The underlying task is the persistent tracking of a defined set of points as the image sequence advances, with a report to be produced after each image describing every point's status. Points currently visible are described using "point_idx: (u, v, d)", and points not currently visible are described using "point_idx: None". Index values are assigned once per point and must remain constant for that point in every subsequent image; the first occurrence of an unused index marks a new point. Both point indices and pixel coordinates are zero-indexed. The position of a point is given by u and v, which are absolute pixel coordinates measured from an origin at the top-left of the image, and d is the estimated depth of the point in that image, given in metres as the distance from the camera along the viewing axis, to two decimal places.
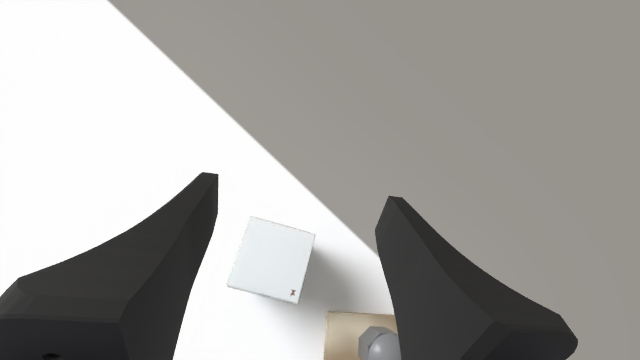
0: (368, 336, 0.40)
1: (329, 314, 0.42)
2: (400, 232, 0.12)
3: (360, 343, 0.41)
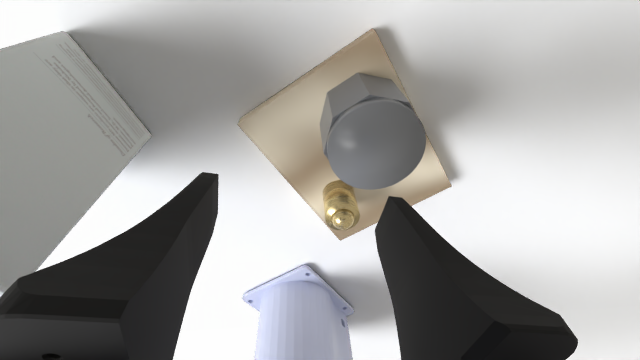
0: (325, 124, 0.18)
1: (241, 126, 0.20)
2: (400, 232, 0.12)
3: None
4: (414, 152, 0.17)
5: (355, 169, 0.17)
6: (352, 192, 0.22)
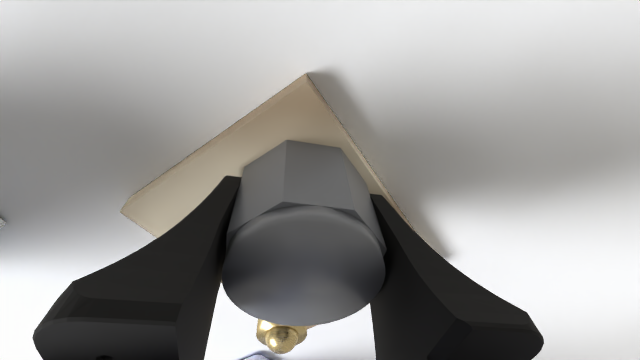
0: None
1: (125, 213, 0.14)
2: None
3: None
4: (367, 282, 0.10)
5: (275, 304, 0.11)
6: None
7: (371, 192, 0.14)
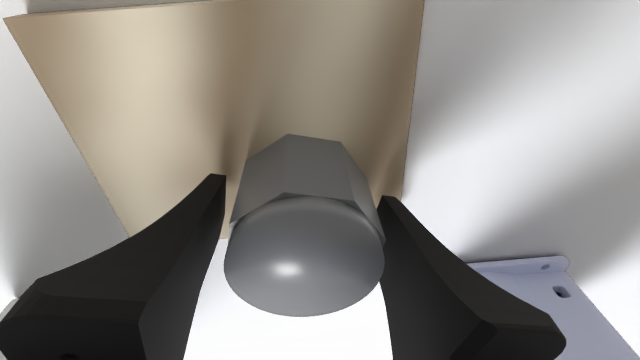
0: None
1: None
2: (392, 231, 0.12)
3: None
4: (367, 272, 0.10)
5: (277, 295, 0.11)
6: None
7: (193, 21, 0.10)
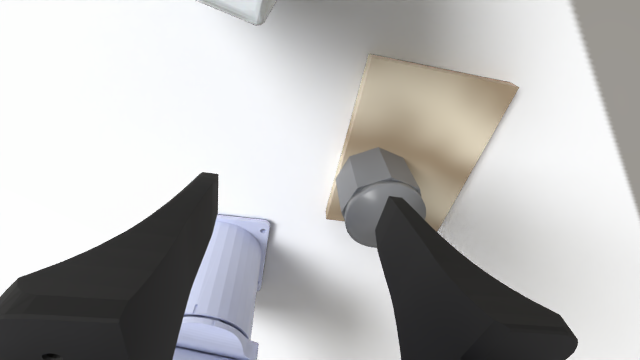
0: (396, 166, 0.21)
1: (373, 61, 0.19)
2: (400, 232, 0.12)
3: (373, 155, 0.21)
4: (371, 241, 0.21)
5: (373, 204, 0.19)
6: None
7: (471, 160, 0.23)
